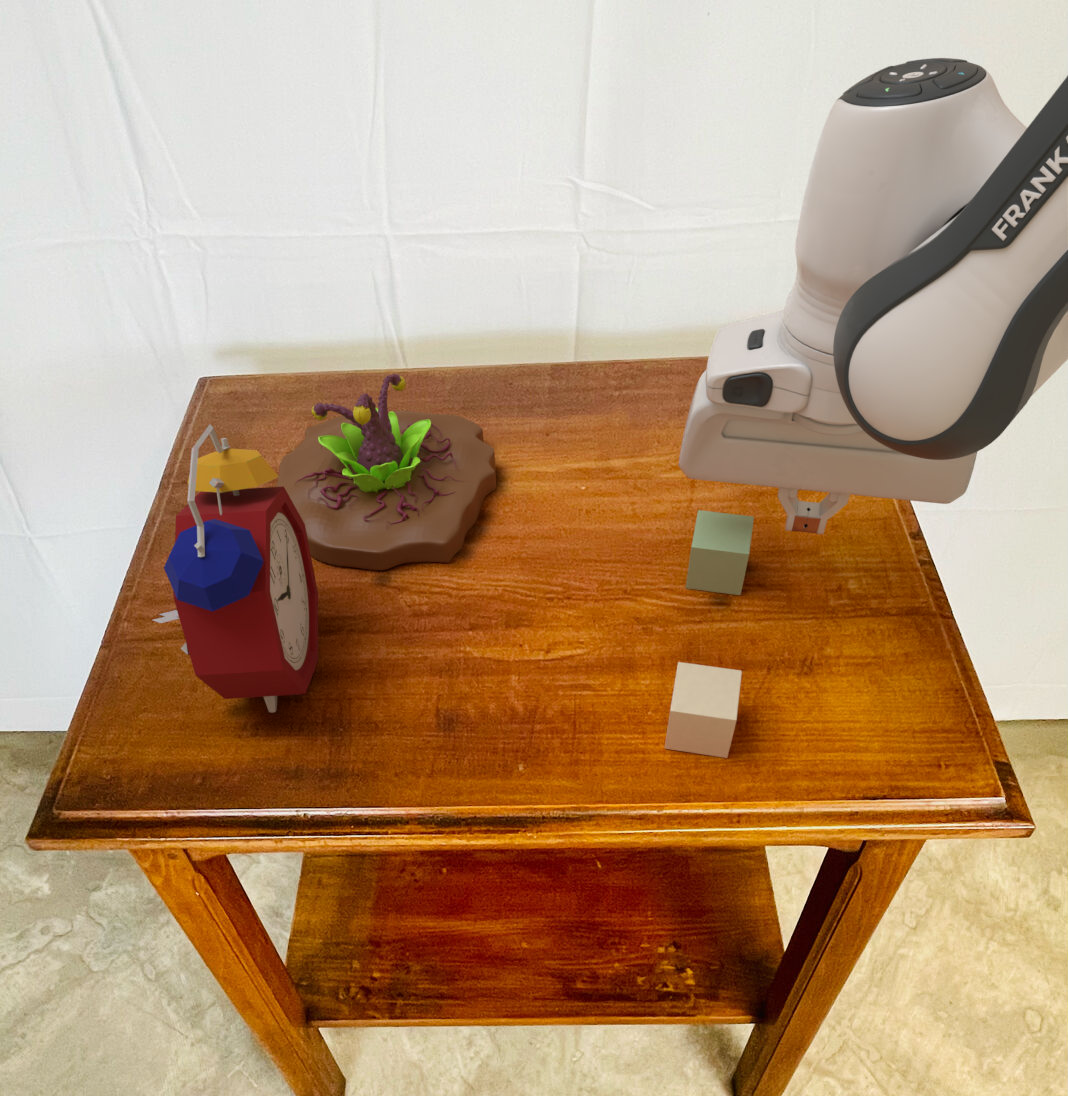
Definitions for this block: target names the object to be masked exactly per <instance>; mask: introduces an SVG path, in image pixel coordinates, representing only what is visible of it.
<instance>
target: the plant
mask: <svg viewBox="0 0 1068 1096" xmlns="http://www.w3.org/2000/svg"><path fill="white" fill-rule="evenodd" d="M382 382H383V383H382V384H381V389H380V390H379V393H380V394H379V396H378V403H377V405H376V403H375V402H374V401H373V397H372V396H369V394H368V393H367V392H365V393H362V394H360V397H358V398H357V400H356V403H355V405H354V406H353V410H351V409H349V408H347V407H346V406H342V405H340V404H338V405H337V404H334V403H330V404H329V403H322V402H317V403H315V404H314V405H313V406H312V407H311V415H312V416H313V417H314V419H316V420H317V421H323V420H325V419H326V418H327V416H328V412H334V413H336V414H338V415H341V416H338V417H333V418H331V419H328V420H326V421H324V422H322V423H318V424H316V425H315V424H314V425H312V426H308V427H307V428H305V430H304V439H303V440H302V442H301V443H300V444H299V445H298V446H296V448H294V449H292V451H290V452H288V453H286V454H285V455H284V456H283V457H282V458H281V461H280V463H279V470H278V476H279V477H277V482H276V486H275V487H282V486H284V488H285V490H286V491H287V493H288V495H289V497H290V498H291V500H292V502H293V504H294V506H295V507H296V509H297V511H298V513H299V515H300V516H301V518H302V520H303V522H304V524H305V528H306V533H307V538H308V544H309V549H310V554H311V557H312V558H313V559H315V560H317V561H319V562H323V563H325V564H329V565H331V566H335V567H336V566H337V567H343V568H344V567H345V568H357V569H361V570H371V571H385V570H389V569H391V568H395V567H396V566H400V565H403V564H409V563H446V564H449V563H450V562H451V560H452V559H453V557H454V556H455V555H456V554H458V552H460V551H461V550H462V547H463V546H464V541H465V539H466V536H467V533H468V532H469V530H470V529H472V527H473V526H474V525H475V524H476V522H477V520H478V517H479V515H480V510H481V507H482V503H483V501H484V499H485V498H486V497H487V496H489V494H490V493H492V492H494V491H495V490H497V478H496V477H497V476H496V475H497V474H496V454H495V453H496V452H495V449H494V447H492V446H491V445H489V444H488V443H486V442H484V441H485V440H484V430H483V428H482V427H481V426H480V425H478V424H477V423H475V422H474V421H472V420H470V419H468V418H465V417H463V416H460V415H455V414H445V413H444V414H442V413H429V412H428V413H427V412H420V411H419V412H418V411H409V410H388V408H389V407H388V395H389V394H388V392H389V386H390V385H391V388H392V389H393V390H395V391H397V392H402V391H404V390H405V389H406V386H407V382H406V379H405V378H404V376H400V374H398V373H393V374H389V375H386V377H384V379H383V380H382ZM377 407H378V408H377Z"/></svg>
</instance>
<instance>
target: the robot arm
mask: <svg viewBox="0 0 1068 1096" xmlns="http://www.w3.org/2000/svg"><path fill="white" fill-rule="evenodd" d="M794 249H795V251H794V252H795V260H796V275H795V281H794V284H793V286H792V289H791V291H790V292H789V294H788V297H787V299H786V301H785V303H784V308H783V310H779V311H776V312H772V313H769V314H765V315H761V316H757V317H752V318H747V319H743V320H739V321H735V322H734V321H733V322H730V323H727V324H725V325H723V326H721V327H720V328H719V329H718V330H717V332H716V333H715V334H716V335H715V336H714V339H713V342H712V344H711V347H710V350H709V354H708V358H707V363H706V369H705V370H704V371H703V373H702V374H701V376H700V377H699V379H698V380H697V383H696V387H695V389H694V392H693V395H692V398H691V402H690V405H689V410H688V414H687V418H686V422H685V425H684V430H683V436H682V440H681V444H680V445H681V446H680V452H679V457H678V467H679V469H680V471H681V472H682V473H683V474H684V476H686V478H687V479H690V480H696V481H697V480H699V481H706V482H707V481H709V482H719V483H729V484H737V485H749V486H760V487H770V488H777V489H778V490H777V498H778V500H779V502H780V504H781V506H782V508H783V510H784V512H785V513H786V519H785V527H784V531H787V532H796V533H807V534H816V535H824V534H825V529H826V527H827V523H828V520H830V519H831V518H832V517H833V516H835V515H836V514H837V513H838V512H840V511H841V510H842V509H843V508H844V507H845V506H847V505H848V504H849V500H850V496H851V495H852V496H862V497H871V498H880V499H892V500H900V501H901V500H902V501H911V502H921V503H932V504H942V505H948V504H951V503H953V502H954V501H956V500H958V499H959V498H961V497H962V496H964V495H965V494H966V492H967V490H968V487H969V484H970V482H971V478H972V475H973V472H974V469H975V464H976V460H977V455H978V452H979V451H981V450H983V449H985V448H987V447H988V446H989V445H990V444H992V443H993V442H994V441H996V440H997V439H998V438H999V437H1000V436H1001V435H1002V434H1003V433H1004V432H1005V430H1006V429H1007V428H1008V427H1009V425H1010V424H1011V423H1012V422H1013V421H1014V420H1015V418H1016V417H1017V416H1018V415H1019V413H1020V412H1021V411H1022V410H1023V409H1024V408H1025V406H1026V405H1027V404H1028V402H1029V400H1030V399H1031V397H1033V396H1034V394H1035V393H1036V392H1037V391H1038V390H1039V389H1040V388H1041V387H1042V386H1044V385H1045V383H1046V382H1047V381H1048V380H1049V379H1050V378H1051V377H1052V376H1053V375H1054V374H1055V373H1056V372H1057V371H1058V370H1059V369H1060V368H1061V367H1062V366H1063V365H1064V364H1065V362H1067V361H1068V75H1067V76H1066V77H1065V78H1064V79H1063V81H1062V82H1061V83H1060V85H1059V86H1058V87H1057V89H1056V90H1055V91H1054V92H1053V94H1052V95H1051V96H1050V98H1049V99H1048V101H1046V103H1045V104H1044V105H1043V107H1042V108H1041V110H1040V111H1039V112H1038V113H1037V115H1036V116H1034V118H1033V120H1032V121H1031V122H1030V124H1029V125H1028V126H1026V125H1025V124H1024V123H1023V122H1021V120H1019V119H1018V117H1017V116H1016V115H1015V114H1014V113H1013V112H1012V111H1011V109H1010V108H1009V107H1008V106H1007V105H1006V103H1005V102H1004V100H1003V98H1002V95H1000V92H999V90H998V87H997V85H996V83H995V81H994V79H993V76H992V75H991V73H990V72H989V71H988V70H987V69H985V68H984V67H983V66H981V65H979V64H976V63H973V62H970V61H968V60H967V59H961V58H949V57H934V58H933V57H932V58H931V57H930V58H922V59H915V60H908V61H905V62H903V63H899V64H895V65H889V66H886V67H884V68H882V69H880V70H878V71H876V72H873V73H872V74H870V75H868V76H866V77H864V78H862V79H861V80H859V81H858V82H856V83H854V84H853V85H852V86H851V87H849V88H847V90H845V91H844V92H842V95H841V96H839V97H838V98H837V99H835V101H834V103H833V105H832V107H831V109H830V110H829V113H828V114H827V117H826V119H825V121H824V124H823V127H822V129H821V132H820V135H819V137H818V141H817V145H816V148H815V152H814V156H813V159H812V162H811V166H810V169H809V174H808V178H807V182H806V187H805V191H804V196H803V200H802V204H801V210H800V215H799V219H798V226H797V232H796V237H795V247H794ZM799 490H801V491H812V492H821V493H828V494H827V495H825V496H824V498H823V499H822V500H820V502H814V501H804V500H800V499H799V497H798V493H799Z"/></svg>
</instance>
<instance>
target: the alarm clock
mask: <svg viewBox="0 0 1068 1096" xmlns="http://www.w3.org/2000/svg"><path fill="white" fill-rule="evenodd" d="M208 436H209V437H210V440H211V442H212V444H213V446H214V449H215V451H213V452H210V453H207V454H205V455H203V456H200V457H199V449H200V447H201V446H202V444H203V443H204V442H205V440H207V438H208ZM189 463H190V464H189V476H188V478H187V482H186V483H187V485H188V486H187V487H188V488H187V501H186V502H187V504H186V506H184V507H183V508H182V509H181V510H180V511H179V512H178V513H177V515H175V532H173V533H172V534H173V535H174V544H173V547H172V549H171V551H170V553H169V555H168V557H167V560H166V562H165V564H164V565H163V570H164V571H165V574H166V576H167V579H168V581H169V583H170V586H171V588H172V590H173V591H172V592H173V594H172V597H173V600H174V604H175V608H176V609H174V610H171V611H167V612H163V613H159V614H158V615H159V616H162V617H158V618H154V619H152V621H153V622H155V623H159V624H163V623H167V622H172V621H175V620H179V622H180V626H181V629H182V633H183V637H184V639H185V643H184V644H183V645H182V646H181V648H180V650H181V651H183V652H184V654H186V655H187V656H189V658H190V660H191V661H190V662H191V664H192V668H193V671H194V675H195V676H196V677H197V678H198V679H199V680H201V681H202V682H203V683H204V684H206V685H207V686H208V687H209V688H210V689H211V690H213V691H214V692H215V693H217V694H218V695H219V696H220V697H221V698H223V699H224V700H229V699H230V700H232V699H247V698H263V700H264V703H265V705H266V708H267V711H268V713H271V714H272V713H276V712H277V711H278V696H279V697H280V696H282V697H283V696H295V695H297V696H298V695H306V693H307V690H308V688H309V685H310V682H311V680H312V677H313V675H314V674H315V673H314V672H315V670H316V667H317V665H318V662H319V592H318V586H317V580H316V576H315V571H314V567H313V560H312V556H311V554H310V549H309V544H308V538H307V533H306V528H305V524H304V522H303V520H302V518H301V516H300V515H299V513H298V511H297V509H296V507H295V506H294V504H293V502H292V500H291V498H290V497H289V495H288V493H287V491H286V490H285V488H284V486H282V487H276V486H270V487H269V486H267V487H266V486H265V487H261V486H263V485H265V484H267V483H269V482H271V481H273V480H275V479H278V477H279V474H278V473H277V472H276V471H275V470H274V468H272V467H271V465H270V464H269V462H268V461H267V460H266V459H265V457H263V456H262V455H261V453H260V452H259V451H258V450H257V449H247V448H246V449H245V448H232V447H231V445H229V441H228V438H227V437H222V438H220V440H219V438H218V435H217V432H216V430H215V428H214V427H213V425H211V423H210V424H208V426H207V427H206V429H204V430H203V433H202V434H201V435H200V436H199V438H198V439H197V441H196V442H195V443H194V445H193V446H192V448H191V453H190V462H189ZM196 492H198V493H197V494H196Z"/></svg>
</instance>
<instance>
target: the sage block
mask: <svg viewBox="0 0 1068 1096" xmlns="http://www.w3.org/2000/svg"><path fill="white" fill-rule="evenodd" d="M695 519H696V520H695V524H694V529H693V530H694V531H693V537H692V542H691V546H690V554H689V559H688V561H689V562H688V568H687V574H686V575H687V576H686V582H685V589H688V590H696V591H703V592H709V593H710V592H711V593H719V594H727V595H734V596H741V595H742V590H743V586H744V581H745V576H746V572H747V567H748V563H749V558H750V551H751V544H752V537H753V529H754V520H755V517H754V515H753V516H752V515H743V514H737V513H736V514H735V513H728V512H727V513H726V512H719V511H709V510H702V509H698V510H697V514H696V518H695Z"/></svg>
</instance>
